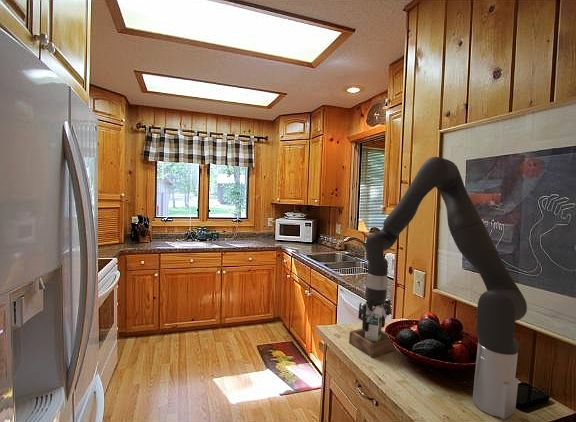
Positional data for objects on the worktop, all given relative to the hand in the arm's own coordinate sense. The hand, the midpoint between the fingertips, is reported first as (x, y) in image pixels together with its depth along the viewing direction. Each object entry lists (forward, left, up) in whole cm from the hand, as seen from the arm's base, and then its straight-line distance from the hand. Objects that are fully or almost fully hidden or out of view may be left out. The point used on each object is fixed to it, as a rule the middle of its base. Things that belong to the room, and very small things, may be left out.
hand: (373, 328), depth 122 cm
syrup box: (0, 0, -5) cm, 5 cm away
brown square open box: (0, 0, -7) cm, 7 cm away
